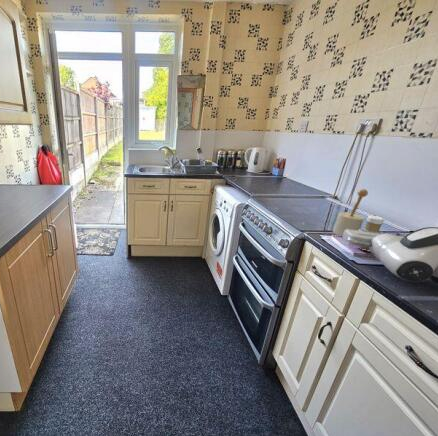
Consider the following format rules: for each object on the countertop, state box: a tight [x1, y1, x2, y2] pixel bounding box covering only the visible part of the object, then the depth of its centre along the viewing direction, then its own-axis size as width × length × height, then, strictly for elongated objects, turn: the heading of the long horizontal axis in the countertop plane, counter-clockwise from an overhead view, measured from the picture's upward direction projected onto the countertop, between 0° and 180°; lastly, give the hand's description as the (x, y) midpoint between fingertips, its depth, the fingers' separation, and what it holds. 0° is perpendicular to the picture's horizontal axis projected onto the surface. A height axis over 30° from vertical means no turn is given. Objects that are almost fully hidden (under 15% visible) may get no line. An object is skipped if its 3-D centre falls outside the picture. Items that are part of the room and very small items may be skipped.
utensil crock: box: [332, 188, 369, 238], centre depth 106 cm, size 9×9×22 cm
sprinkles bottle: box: [357, 215, 385, 250], centre depth 94 cm, size 5×5×13 cm
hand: (369, 232), depth 95 cm, fingers closed on sprinkles bottle, 4 cm apart
